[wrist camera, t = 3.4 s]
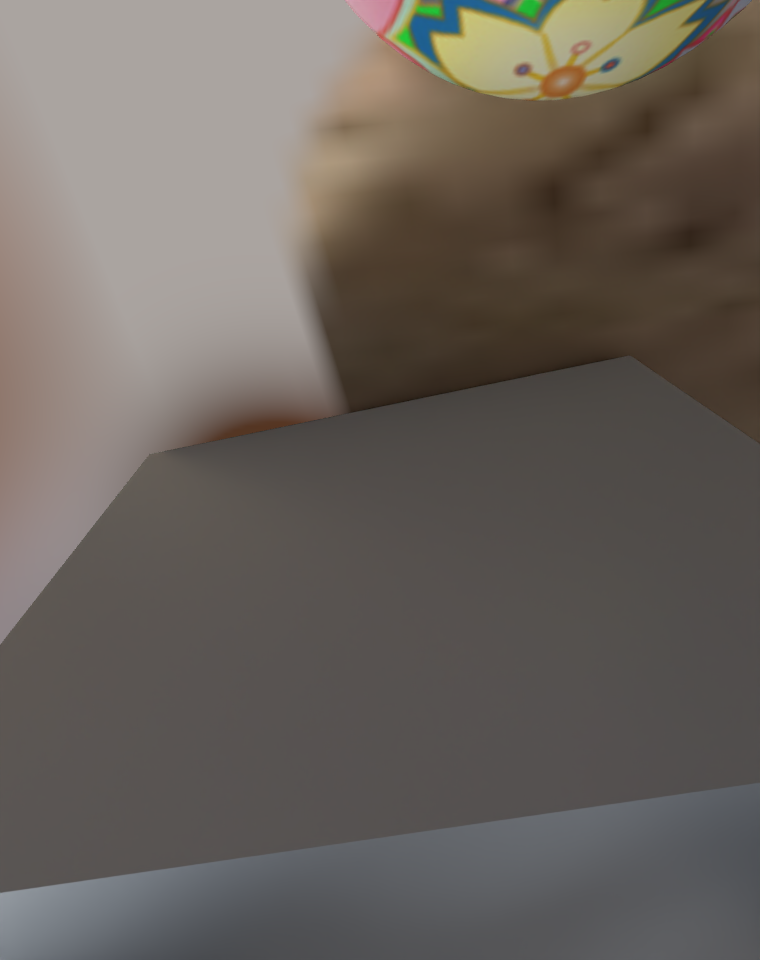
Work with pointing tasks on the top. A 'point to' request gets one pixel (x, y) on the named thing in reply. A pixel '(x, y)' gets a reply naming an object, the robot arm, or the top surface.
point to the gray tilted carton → (402, 691)
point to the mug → (544, 40)
